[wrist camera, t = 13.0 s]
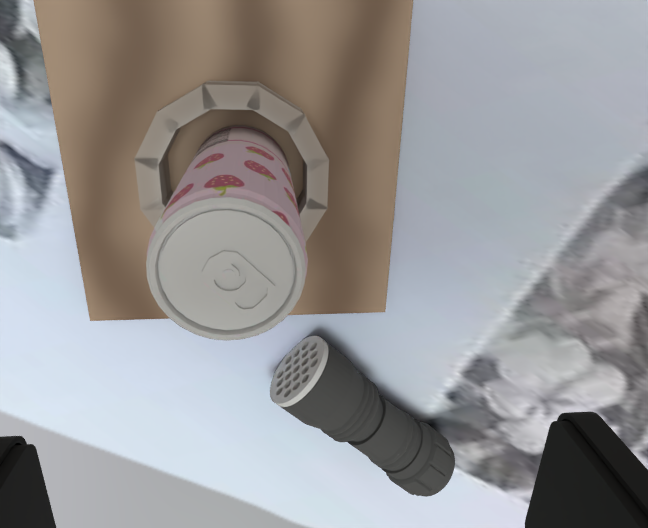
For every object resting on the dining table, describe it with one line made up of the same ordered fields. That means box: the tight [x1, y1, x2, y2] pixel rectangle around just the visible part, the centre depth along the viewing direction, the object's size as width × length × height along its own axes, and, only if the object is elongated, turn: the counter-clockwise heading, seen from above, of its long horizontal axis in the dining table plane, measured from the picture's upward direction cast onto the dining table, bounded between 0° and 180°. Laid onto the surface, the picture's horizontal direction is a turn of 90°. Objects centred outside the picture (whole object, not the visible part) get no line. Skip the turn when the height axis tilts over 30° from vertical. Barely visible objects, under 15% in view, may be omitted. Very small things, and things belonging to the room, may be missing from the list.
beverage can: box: [146, 125, 308, 340], centre depth 24 cm, size 6×6×15 cm
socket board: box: [34, 0, 413, 321], centre depth 30 cm, size 20×20×4 cm
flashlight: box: [270, 336, 455, 496], centre depth 38 cm, size 15×5×5 cm, turn 45°
